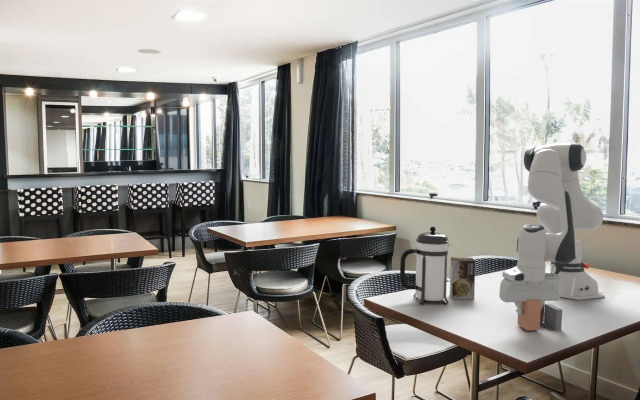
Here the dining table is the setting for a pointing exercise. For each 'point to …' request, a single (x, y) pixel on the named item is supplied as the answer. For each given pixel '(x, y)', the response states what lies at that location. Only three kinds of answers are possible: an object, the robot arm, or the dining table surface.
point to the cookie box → (462, 278)
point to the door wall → (552, 317)
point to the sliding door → (542, 313)
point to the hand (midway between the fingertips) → (528, 313)
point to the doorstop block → (530, 315)
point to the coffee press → (429, 266)
